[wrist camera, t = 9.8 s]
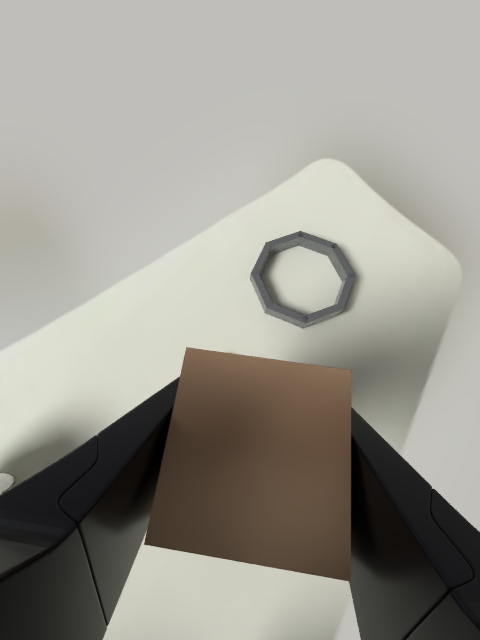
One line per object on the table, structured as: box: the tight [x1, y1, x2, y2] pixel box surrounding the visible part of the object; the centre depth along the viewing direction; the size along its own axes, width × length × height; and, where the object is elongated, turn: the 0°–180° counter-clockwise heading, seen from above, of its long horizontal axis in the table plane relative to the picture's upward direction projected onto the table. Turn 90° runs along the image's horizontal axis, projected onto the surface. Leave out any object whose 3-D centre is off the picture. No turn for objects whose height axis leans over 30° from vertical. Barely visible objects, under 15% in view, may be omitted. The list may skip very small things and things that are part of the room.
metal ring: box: [250, 231, 355, 328], centre depth 24 cm, size 8×8×1 cm
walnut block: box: [144, 347, 351, 581], centre depth 11 cm, size 4×4×9 cm
